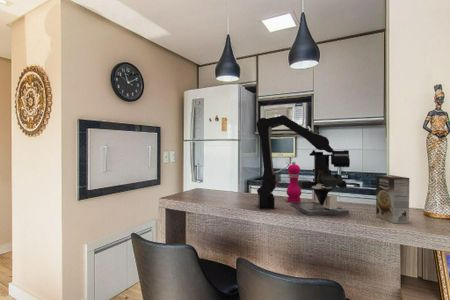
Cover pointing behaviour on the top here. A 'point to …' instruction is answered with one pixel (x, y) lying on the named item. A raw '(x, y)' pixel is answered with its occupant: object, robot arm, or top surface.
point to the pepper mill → (293, 183)
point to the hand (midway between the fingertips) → (321, 204)
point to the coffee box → (392, 198)
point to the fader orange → (330, 202)
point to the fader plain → (314, 197)
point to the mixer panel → (317, 208)
